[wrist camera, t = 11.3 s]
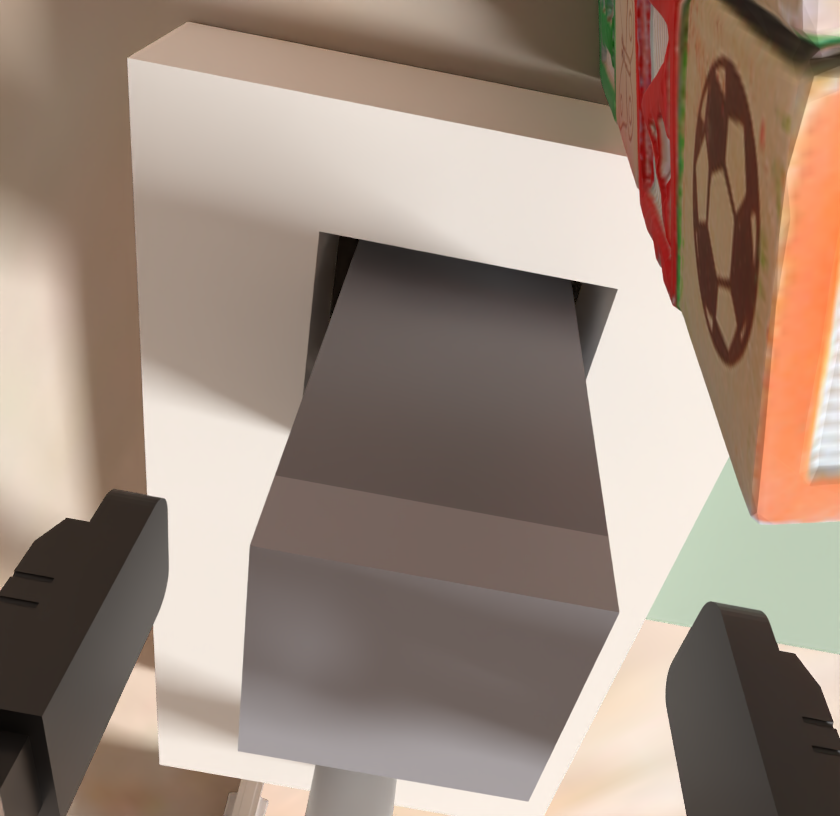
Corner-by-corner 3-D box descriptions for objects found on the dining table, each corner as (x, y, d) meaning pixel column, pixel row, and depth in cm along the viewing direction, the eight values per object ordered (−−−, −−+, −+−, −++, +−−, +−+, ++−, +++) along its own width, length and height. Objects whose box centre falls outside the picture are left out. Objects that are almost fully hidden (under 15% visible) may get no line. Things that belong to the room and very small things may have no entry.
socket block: (187, 21, 15) (-201, 253, 7) (804, 144, 16) (1152, 509, 7) (190, 682, 27) (52, 1053, 19) (533, 742, 28) (545, 1133, 19)
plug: (371, 205, 17) (250, 545, 9) (565, 242, 17) (619, 612, 9) (348, 368, 19) (238, 751, 11) (518, 400, 20) (527, 801, 11)
